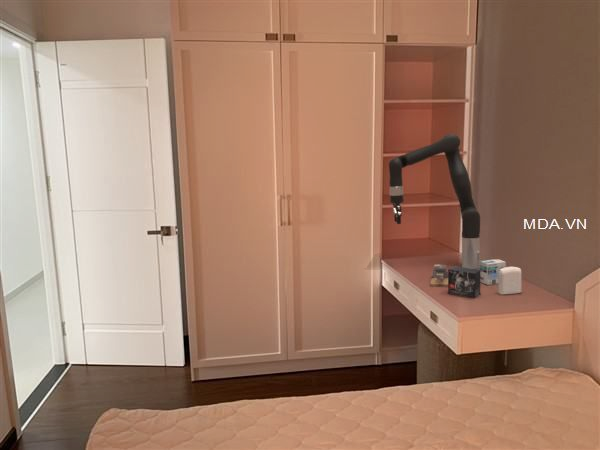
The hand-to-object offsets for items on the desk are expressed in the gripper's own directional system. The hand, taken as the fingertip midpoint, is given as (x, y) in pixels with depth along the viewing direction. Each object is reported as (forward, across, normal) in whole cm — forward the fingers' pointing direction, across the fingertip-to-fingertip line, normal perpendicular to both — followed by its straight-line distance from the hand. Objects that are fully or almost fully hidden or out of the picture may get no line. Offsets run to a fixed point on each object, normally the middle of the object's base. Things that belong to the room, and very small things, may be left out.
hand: (397, 222), depth 271 cm
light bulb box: (+28, -35, -40) cm, 60 cm away
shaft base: (+27, -34, -16) cm, 46 cm away
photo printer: (+28, -52, -42) cm, 73 cm away
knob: (+27, -24, -17) cm, 40 cm away
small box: (+27, -52, -22) cm, 62 cm away
